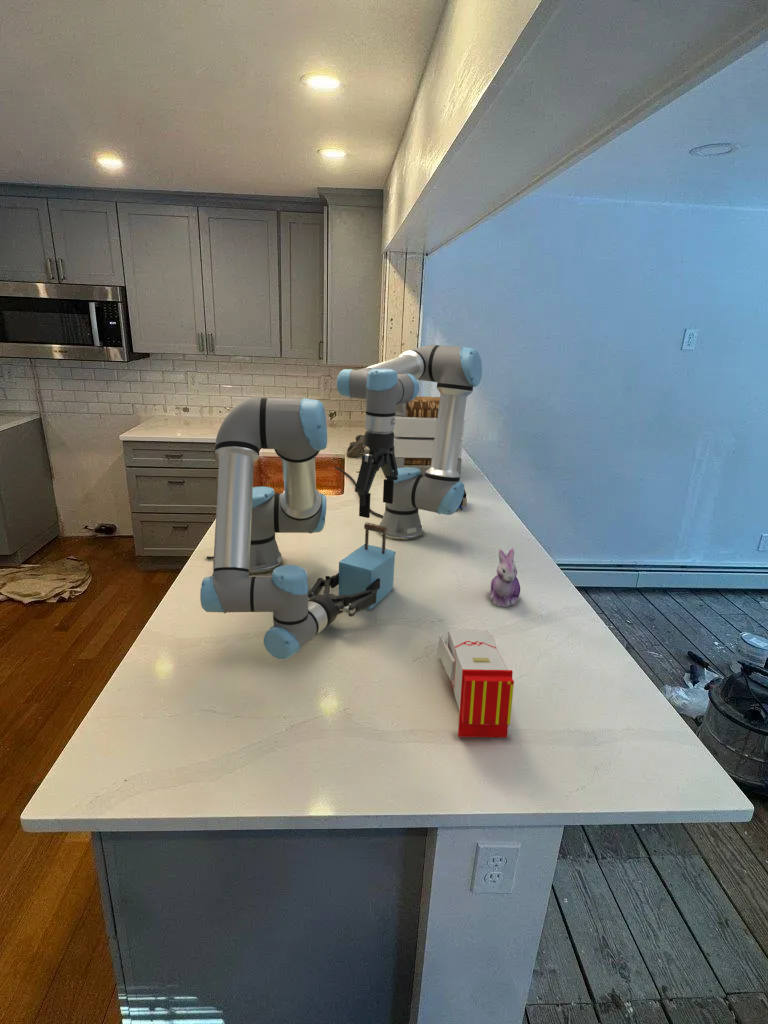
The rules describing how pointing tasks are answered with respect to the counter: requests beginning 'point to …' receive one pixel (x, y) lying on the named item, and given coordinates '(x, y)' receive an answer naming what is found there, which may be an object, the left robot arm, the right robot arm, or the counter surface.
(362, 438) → the fossil
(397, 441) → the white wooden crate
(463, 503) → the figurine character
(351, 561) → the lid
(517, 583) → the figurine
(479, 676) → the toy
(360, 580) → the chest
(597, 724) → the counter surface
